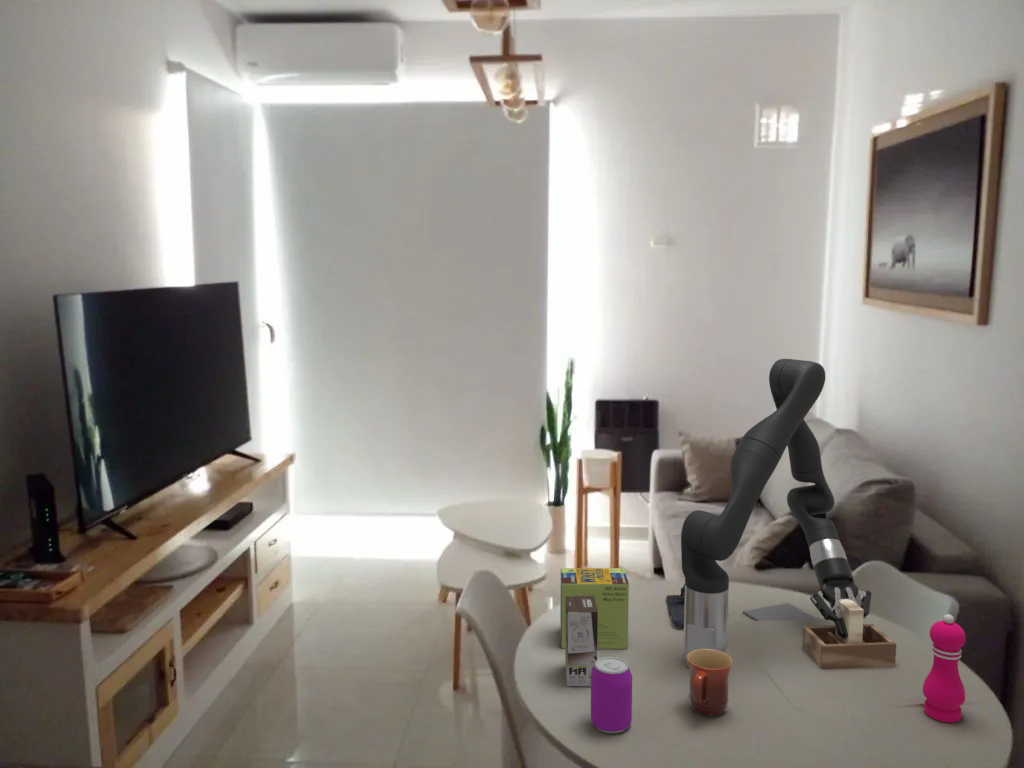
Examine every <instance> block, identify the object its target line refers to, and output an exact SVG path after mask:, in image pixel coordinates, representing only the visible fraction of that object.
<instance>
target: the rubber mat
mask: <svg viewBox="0 0 1024 768" xmlns="http://www.w3.org/2000/svg"><path fill="white" fill-rule="evenodd" d="M742 614H743V615H745V616H746V617H748V618H749V619H751V620H753V621H755V622H765V621H766V622H767V621H768V622H770V621H771V622H772V621H795V620H796V621H797V620H798V621H800V620H803V621H804V620H819V618H817V617H815V616H813V615H812V614H810V613H808V612H806V611H805V610H802V609H800V608H799V607H797V606H794V605H793V604H791V603H789V602H784V603H780V604H775V605H774V604H773V605H769V606H764V607H759V608H758V607H757V608H752V609H748V610H743V611H742Z"/></svg>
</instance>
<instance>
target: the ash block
mask: <svg viewBox="0 0 1024 768" xmlns="http://www.w3.org/2000/svg"><path fill="white" fill-rule="evenodd" d="M839 602H840V606H841V612H842V619H843V620H844V623H845V626H846V629H847V632H848V637H847V638H846V639H842V638H841V636H839V635H838V632H837V629H836V635H835V636H836V637H837V638H838V639H839V640H840V641H841V642H842V643H843V644H850V643H862V636H863V624H864V619H863V616H864V610H863V609H862V608H861V605H859V604H858V605H857V604H856V603H855V602H854V601H852V600H849V599H841V601H839Z"/></svg>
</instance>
